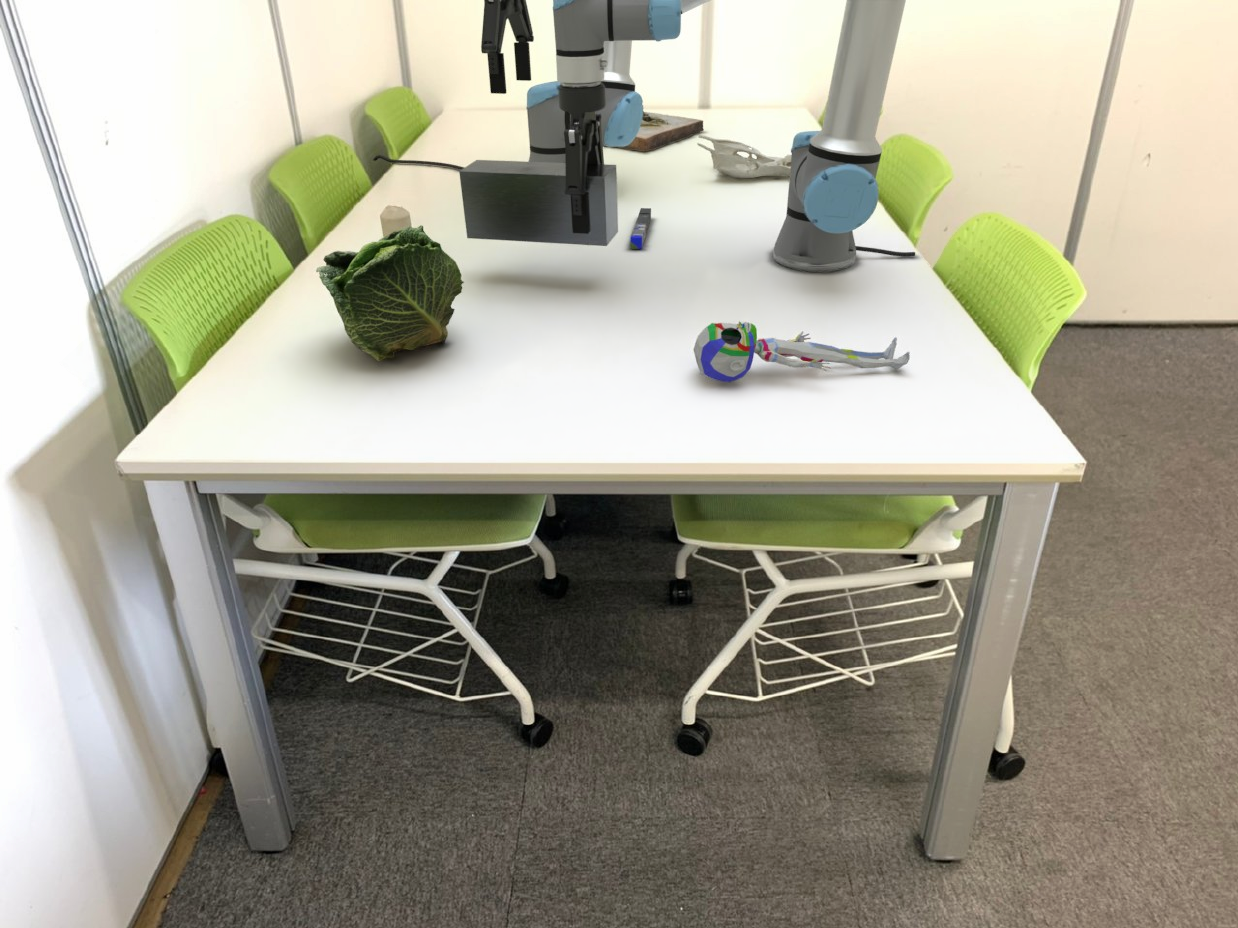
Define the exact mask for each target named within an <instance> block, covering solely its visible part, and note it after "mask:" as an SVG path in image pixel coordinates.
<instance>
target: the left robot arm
mask: <svg viewBox="0 0 1238 928" xmlns="http://www.w3.org/2000/svg"><path fill="white" fill-rule="evenodd" d="M483 2H484V5H483V6H484V7H483V17H482V18H483V19H482V30H481V31H482V32H481V44H480V48H481V49H480V51H481V54H486V56H487V65H488V77H489V78H488V80H489V88H490V89H489V90H490V94H497V95H498V94H499V95H506V94H507V83H506V82H507V81H506V80H507V79H506V68H505V55H504V52H502V48H503V42H504V37H505V32H506V31H505V30H506V25H507V20H508V23H509V25H510V28H511V31H512V33H513V36H514V39H515V41H514V42H513V49H514V64H515V65H514V66H515V78H516V81H521V82H523V81H525V82H530V81H532V70H531V69H532V68H531V54H530V43H533V42H534V41H535V37H534V32H533V27H532V22H531V17H530V13H529V9H528V5H527V0H483ZM632 47H633V41H604V60H606V61H607V63H608V64H607V66H606V67H604V75H605V78H604V80H603V81H601V83H603V84H604V85H605V95H606V106H605V108H604V109H602V110H600V111H596V112H595V113H601V116H602V118H601V131H602V143H603V147H608V148H614V147H613V146H617V147H616V148H619V147H624V146H627V145H629V144H630V143H631V142H632V141H633V140H634V139H635V137H636V135H637V134H638V131H639V129H640V126H641V122H642V117H643V111H644V104H643V103H644V101H643V97H642V96H641V94H640V93H639V92H637V91H636V82H635V81H634V80H633V78H632V77H631V74H630V73H631V72H630V71H631V62H632V61H631V59H632ZM559 85H561V83H560V82H559V81H558V80H554V81H548V82H543V83H539V84H535V85H532V86H531V87H530V88H529V89H528V90H527V93H526V107H525V108H526V109H525V110H526V113H527V127H528V140H529V141H528V142H529V157H528V162H550V163H565V138H564V130H565V129H568V127H569V123H570V117H571V114H570V113H569V112H564V111H562V110H561V109H560V108H559V96H558V87H559ZM379 159H381V160H384V161H386V162H388V163H393V164H407V165H409V164H413V165H429V166H437V167H438V166H439V167H444V168H451V169H456V170H459V171H460V170H462V169H463V168H465V167H466V166H465V167H464V166H460V165H457V164H456V165H455V164H452V163H446V162H438V161H431V160H430V161H429V160H412V159H408V160H407V159H392V158H390V157H387V156H386V155H385V156H384V155H382V154H377V155H376V156H374V157H373V159H372V161H374V162H376V161H377V160H379Z"/></svg>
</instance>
